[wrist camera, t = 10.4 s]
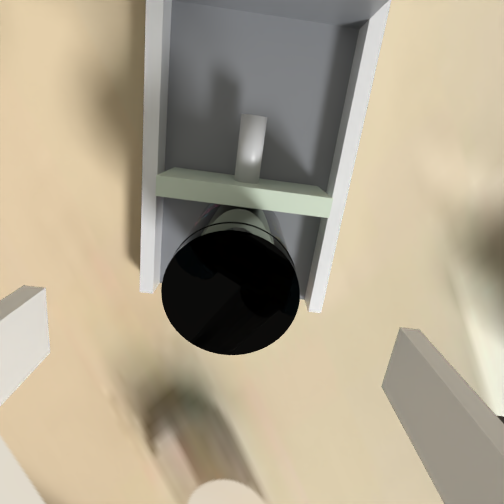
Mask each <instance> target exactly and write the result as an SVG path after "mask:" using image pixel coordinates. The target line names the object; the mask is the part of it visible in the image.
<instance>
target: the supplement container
mask: <svg viewBox="0 0 504 504" xmlns="http://www.w3.org/2000/svg"><path fill="white" fill-rule="evenodd" d="M161 292H162V302H163V306H164V310H165V312H166V315H167V317H168V319H169V321H170V322H171V324H172V325H173V327H174V328H175V329H176V330H177V332H178V333H179V334H180V335H181V336H183V337H184V338H185V339H186V340H188V341H189V342H190V343H192V344H194V345H195V346H197V347H199V348H201V349H204V350H206V351H209V352H213V353H217V354H224V355H240V354H247V353H251V352H255V351H258V350H260V349H263V348H265V347H267V346H268V345H270V344H272V343H273V342H275V341H276V340H277V339H279V338H280V337H281V336H282V335H283V334H284V333H285V332H286V330H287V329H288V328H289V326H290V325H291V323H292V322H293V320H294V318H295V315H296V313H297V310H298V306H299V301H300V287H299V281H298V278H297V274H296V270H295V266H294V263H293V260H292V258H291V256H290V254H289V251H288V248H287V245H286V242H285V239H284V235H283V232H282V229H281V226H280V223H279V220H278V218H277V216H276V215H275V213H274V212H273V211H270V210H262V209H254V208H246V207H239V206H231V205H223V204H215V203H211V204H209V205H208V206H207V207H206V208H205V209H204V211H203V212H202V213H201V215H200V216H199V218H198V219H197V221H196V223H195V224H194V226H193V227H192V229H191V230H190V232H189V234H188V235H187V237H186V238H185V240H184V241H183V242H182V243H181V245H180V246H179V247H178V249H177V250H176V252H175V253H174V256H173V258H172V259H171V261H170V262H169V264H168V266H167V268H166V270H165V273H164V276H163V281H162V289H161Z"/></svg>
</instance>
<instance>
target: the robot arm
mask: <svg viewBox="0 0 504 504" xmlns="http://www.w3.org/2000/svg"><path fill="white" fill-rule="evenodd" d="M49 353H50V343H49V329H48V315H47V302H46V288H43V287H34V286H25V285H23V286H22V287H20V288H19V289H17V290H16V291H14V292H13V293H11V294H10V295H8V296H6V297H5V298H3V299H2V300H0V406H1V405H2V404H3V403H4V402H5V401H6V400H7V399H8V398H9V396H10V395H11V394H12V393H13V392H14V391H15V390H16V389H17V388H18V387H19V386H20V385H21V384H22V382H23V381H24V380H25V379H26V378H27V377H28V376H29V375H30V374H31V373H32V372H33V371H34V370H35V368H36V367H37V366H38V365H39V364H40V363H41V362H42V361H43V360H44V359H45V358H46V357H47V356H48V354H49ZM382 388H383V390H384V392H385V394H386V396H387V398H388V400H389V401H390V403H391V405H392V407H393V409H394V411H395V413H396V414H397V416H398V418H399V420H400V422H401V424H402V426H403V428H404V429H405V431H406V433H407V435H408V437H409V439H410V441H411V442H412V444H413V446H414V448H415V450H416V452H417V454H418V456H419V457H420V459H421V461H422V463H423V465H424V467H425V469H426V470H427V472H428V474H429V476H430V478H431V480H432V482H433V484H434V485H435V487H436V489H437V491H438V493H439V495H440V497H441V499H442V500H443V502H444V504H504V417H503V416H496V415H495V414H494V412H493V411H492V410H491V409H490V408H489V407H488V406H487V405H486V403H485V402H484V401H483V400H482V399H481V398H480V397H479V396H478V395H477V393H476V392H475V391H474V390H473V389H472V388H471V387H470V386H469V384H468V383H467V382H466V381H465V380H464V379H463V378H462V377H461V376H460V374H459V373H458V372H457V371H456V370H455V369H454V368H453V367H452V365H451V364H450V363H449V362H448V361H447V360H446V359H445V358H444V356H443V355H442V354H441V353H440V352H439V351H438V350H437V349H436V348H435V346H434V345H433V344H432V343H431V342H430V341H429V340H428V339H427V337H426V336H425V335H424V334H423V333H422V332H421V331H420V330H419V329H410V328H401V327H400V328H399V332H398V335H397V338H396V341H395V345H394V348H393V351H392V354H391V358H390V361H389V364H388V367H387V370H386V374H385V377H384V380H383V383H382Z"/></svg>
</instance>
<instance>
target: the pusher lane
mask: <svg viewBox="0 0 504 504" xmlns="http://www.w3.org/2000/svg"><path fill="white" fill-rule="evenodd" d="M390 4H391V0H146V19H145V66H144V113H143V160H142V207H141V254H140V292H144V293H154V291H155V289H156V288H157V286H158V285H159V283H162V281H163V276H164V273H165V270H166V268H167V266H168V264H169V262H170V261H171V259H172V258H173V256H174V253H175V252H176V250H177V249H178V247H179V246H180V245H181V243H182V242H183V241H184V240H185V238H186V237H187V235H188V234H189V232H190V230H191V229H192V227H193V226H194V224H195V223H196V221H197V219H198V218H199V216H200V215H201V213H202V212H203V211H204V209H205V208H206V207H207V206H208V205H209V204H211V203H207V202H200V201H192V200H184V199H176V198H168V197H161V196H155V195H156V175H158V174H160V173H163V172H165V171H167V170H170V169H172V168H174V167H177V168H185V169H192V170H200V171H207V172H215V173H223V174H230V175H235V168H236V159H237V150H238V141H239V132H240V123H241V114H250V115H257V116H263V117H267V124H266V131H265V138H264V146H263V153H262V161H261V168H260V176H259V178H260V179H268V180H275V181H283V182H291V183H298V184H306V185H313V186H318V187H319V188H321V189H322V190H323V191H324V192H326V193H327V194H328V195H330V196H331V197H332V198H333V202H332V207H331V211H330V216H329V218H324V217H316V216H309V215H301V214H293V213H285V212H277V211H273V212H274V213H275V215H276V216H277V218H278V220H279V223H280V226H281V229H282V232H283V235H284V239H285V242H286V245H287V248H288V251H289V254H290V256H291V258H292V260H293V263H294V266H295V270H296V274H297V278H298V281H299V287H300V299H304V300H305V303H306V306H307V309H308V312H317V313H321V311H322V306H323V302H324V297H325V293H326V289H327V284H328V280H329V275H330V271H331V266H332V262H333V257H334V253H335V249H336V244H337V240H338V235H339V231H340V226H341V222H342V217H343V213H344V208H345V204H346V200H347V195H348V191H349V186H350V182H351V177H352V173H353V168H354V164H355V159H356V155H357V151H358V146H359V142H360V137H361V133H362V128H363V124H364V119H365V115H366V111H367V106H368V102H369V97H370V93H371V88H372V84H373V79H374V75H375V70H376V66H377V62H378V57H379V53H380V48H381V44H382V39H383V35H384V30H385V26H386V21H387V17H388V13H389V8H390Z"/></svg>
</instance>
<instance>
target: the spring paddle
mask: <svg viewBox="0 0 504 504" xmlns="http://www.w3.org/2000/svg"><path fill="white" fill-rule="evenodd" d="M266 124H267V117H263V116H257V115H250V114H241V123H240V132H239V141H238V150H237V159H236V168H235V175H230V174H223V173H215V172H207V171H200V170H192V169H185V168H177V167H174V168H172V169H170V170H167V171H165V172H163V173H160V174H158V175H156V195H155V196H161V197H168V198H176V199H184V200H192V201H200V202H207V203H215V204H223V205H231V206H239V207H246V208H254V209H262V210H270V211H277V212H285V213H293V214H301V215H309V216H316V217H324V218H329V216H330V211H331V207H332V202H333V198H332V197H331V196H330V195H328V194H327V193H326V192H324V191H323V190H322V189H321V188H319V187H318V186H313V185H306V184H298V183H291V182H283V181H275V180H268V179H260V178H259V176H260V168H261V161H262V153H263V146H264V138H265V131H266Z"/></svg>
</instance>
